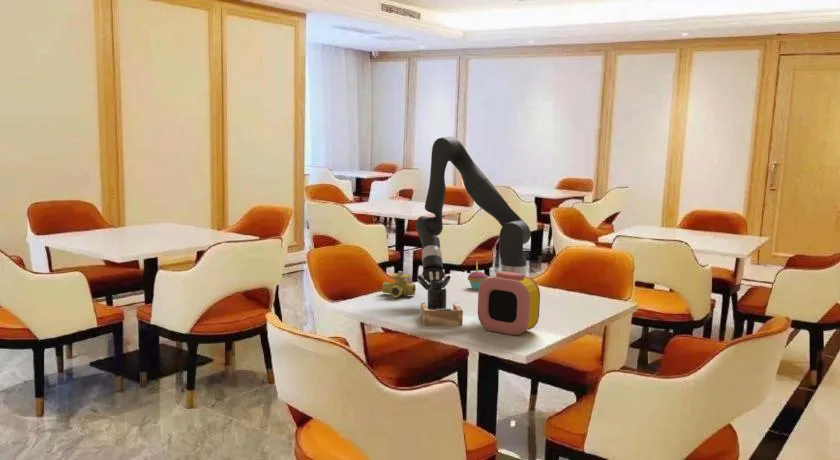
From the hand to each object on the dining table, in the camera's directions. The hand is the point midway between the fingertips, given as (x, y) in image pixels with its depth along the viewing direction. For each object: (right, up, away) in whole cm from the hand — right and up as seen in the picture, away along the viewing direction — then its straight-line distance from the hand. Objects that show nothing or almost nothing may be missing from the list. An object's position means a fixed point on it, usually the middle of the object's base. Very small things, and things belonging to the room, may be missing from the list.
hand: (435, 298), depth 269 cm
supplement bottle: (0, -5, -3) cm, 6 cm away
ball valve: (-15, -2, +23) cm, 27 cm away
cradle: (+2, -6, -14) cm, 16 cm away
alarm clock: (+23, -9, -25) cm, 36 cm away
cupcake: (+19, 0, +42) cm, 46 cm away
